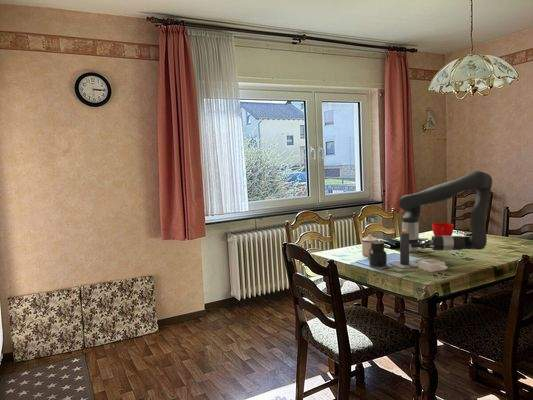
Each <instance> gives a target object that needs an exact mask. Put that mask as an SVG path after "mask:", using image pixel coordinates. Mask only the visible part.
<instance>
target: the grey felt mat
mask: <svg viewBox="0 0 533 400" xmlns="http://www.w3.org/2000/svg"><path fill="white" fill-rule="evenodd" d="M388 263H389V264H388V265H390V264H391V266H393V267H396V268H399V269H401V270H403V269H405V270H406V269H411V268H418V263H417V262H414V261H412V260H411V261H410V260H409V265H402V264H400V260H398V261H390V262H388Z"/></svg>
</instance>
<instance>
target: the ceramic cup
mask: <svg viewBox="0 0 533 400" xmlns="http://www.w3.org/2000/svg"><path fill="white" fill-rule="evenodd" d="M431 226H432V227H431V229H432V234H433V236H453V232H454V224H453V223H449V222H434V223H432V224H431Z"/></svg>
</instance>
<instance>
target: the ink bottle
mask: <svg viewBox="0 0 533 400" xmlns="http://www.w3.org/2000/svg"><path fill="white" fill-rule="evenodd" d="M371 249H372V250H371V251H370V252H369V256H368V257H369V258H368V262H369V265H370V266H371V267H376V266H377V267H379V268H380V267H386V266H387V265H388V261H387V257H388V256H387V252H386V251H385V242H384V241H380V240H378V241H373V242H371Z"/></svg>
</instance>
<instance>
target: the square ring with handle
mask: <svg viewBox="0 0 533 400" xmlns="http://www.w3.org/2000/svg"><path fill="white" fill-rule="evenodd" d="M417 262H418V263H417V264H418V267H417V268H418V269H421V270H424V271H426V272H429V273H431V272H438V271H444V270H446V269H448V266H447V265H446V262H445V261H442V260H438V259H434V258H429V259H428V258H427V259H422V260H418V261H417Z"/></svg>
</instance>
